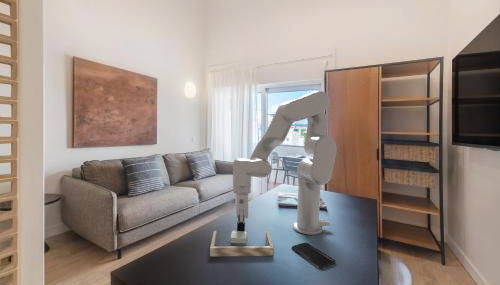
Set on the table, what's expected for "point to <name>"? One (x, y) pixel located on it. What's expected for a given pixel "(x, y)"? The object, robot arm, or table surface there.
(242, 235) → the sage tile
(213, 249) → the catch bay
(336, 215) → the table surface
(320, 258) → the phone
